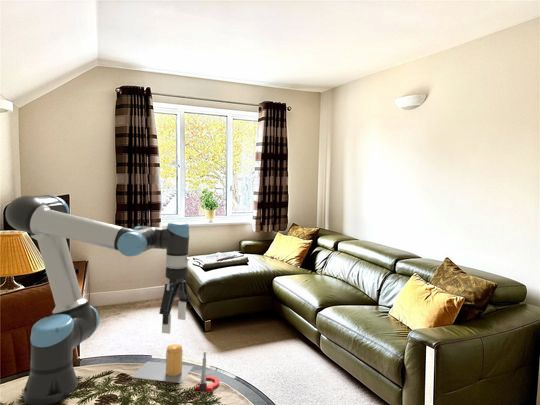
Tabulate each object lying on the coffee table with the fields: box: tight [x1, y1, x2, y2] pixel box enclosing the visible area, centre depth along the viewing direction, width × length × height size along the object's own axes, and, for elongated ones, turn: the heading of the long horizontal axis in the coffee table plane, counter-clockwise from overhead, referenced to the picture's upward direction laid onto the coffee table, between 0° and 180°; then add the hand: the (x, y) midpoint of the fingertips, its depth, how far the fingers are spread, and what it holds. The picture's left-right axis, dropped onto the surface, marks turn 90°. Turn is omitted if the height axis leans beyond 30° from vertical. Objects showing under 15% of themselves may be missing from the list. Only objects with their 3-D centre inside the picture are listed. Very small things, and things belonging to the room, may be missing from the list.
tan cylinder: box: [165, 343, 183, 376], centre depth 131 cm, size 5×5×9 cm
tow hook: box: [194, 351, 220, 393], centre depth 127 cm, size 8×13×9 cm
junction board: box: [131, 361, 194, 384], centre depth 131 cm, size 18×12×6 cm, turn 82°
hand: (174, 325), depth 130 cm, fingers open, 13 cm apart
